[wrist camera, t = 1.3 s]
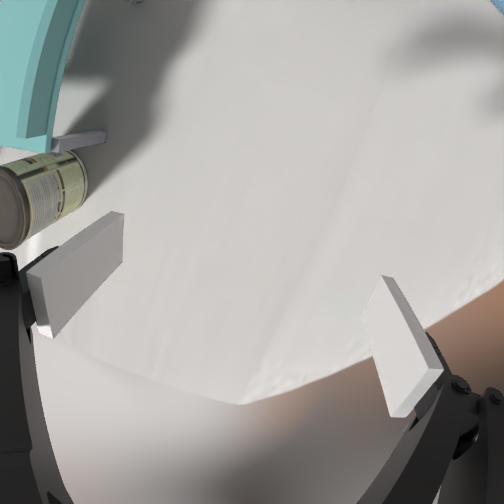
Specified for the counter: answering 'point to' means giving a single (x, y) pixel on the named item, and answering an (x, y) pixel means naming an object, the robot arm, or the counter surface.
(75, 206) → the coffee can
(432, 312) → the counter surface
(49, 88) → the lid
